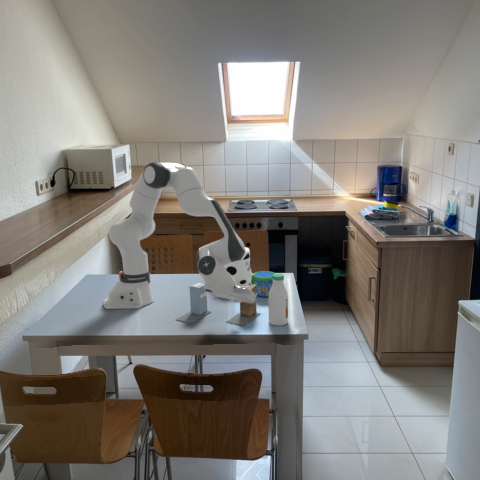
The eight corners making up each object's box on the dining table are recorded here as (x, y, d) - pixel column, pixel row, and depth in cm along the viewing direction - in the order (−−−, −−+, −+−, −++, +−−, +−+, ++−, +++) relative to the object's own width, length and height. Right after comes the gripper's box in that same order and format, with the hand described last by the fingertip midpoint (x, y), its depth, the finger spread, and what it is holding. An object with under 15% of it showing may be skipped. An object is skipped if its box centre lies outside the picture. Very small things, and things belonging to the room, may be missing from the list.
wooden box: (250, 317, 195) (250, 289, 192) (240, 314, 197) (239, 287, 194) (256, 313, 199) (256, 285, 196) (246, 310, 201) (245, 283, 199)
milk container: (259, 284, 236) (259, 249, 232) (234, 293, 225) (233, 256, 220) (235, 277, 248) (234, 243, 244) (210, 285, 237) (209, 250, 233)
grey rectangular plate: (243, 326, 187) (243, 325, 187) (226, 322, 191) (226, 321, 191) (260, 314, 199) (260, 313, 199) (244, 310, 203) (244, 309, 203)
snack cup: (284, 296, 218) (284, 275, 216) (267, 302, 212) (267, 280, 210) (262, 288, 230) (262, 268, 228) (245, 293, 224) (245, 272, 222)
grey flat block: (191, 323, 191) (191, 323, 191) (175, 320, 195) (175, 319, 195) (211, 312, 202) (211, 311, 202) (196, 308, 206) (196, 308, 206)
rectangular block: (200, 315, 198) (199, 287, 195) (190, 312, 201) (189, 285, 198) (207, 311, 202) (206, 284, 199) (197, 308, 205) (196, 282, 202)
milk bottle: (282, 327, 185) (282, 279, 180) (265, 323, 189) (264, 276, 184) (291, 320, 191) (291, 273, 187) (274, 317, 195) (274, 270, 191)
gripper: (250, 282, 176) (263, 298, 186) (205, 274, 186) (220, 290, 196) (244, 297, 173) (258, 313, 183) (199, 288, 183) (214, 303, 194)
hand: (238, 301), depth 190 cm, fingers closed
